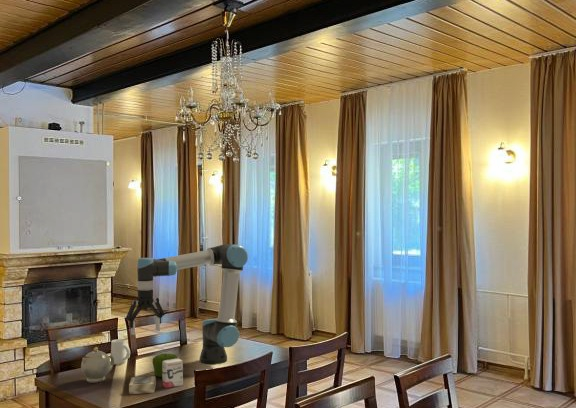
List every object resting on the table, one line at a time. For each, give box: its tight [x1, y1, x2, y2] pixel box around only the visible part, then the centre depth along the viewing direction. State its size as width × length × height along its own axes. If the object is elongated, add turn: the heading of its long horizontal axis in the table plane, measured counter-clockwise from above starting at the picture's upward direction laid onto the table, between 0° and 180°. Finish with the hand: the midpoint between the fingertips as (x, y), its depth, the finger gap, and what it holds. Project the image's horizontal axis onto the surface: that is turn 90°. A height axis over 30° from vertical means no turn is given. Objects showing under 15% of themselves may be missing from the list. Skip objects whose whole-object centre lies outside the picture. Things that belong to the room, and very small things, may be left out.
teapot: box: [80, 346, 115, 384], centre depth 281 cm, size 18×14×16 cm
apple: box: [152, 353, 178, 378], centre depth 287 cm, size 12×12×11 cm
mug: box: [110, 338, 131, 365], centre depth 315 cm, size 8×12×12 cm
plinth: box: [128, 375, 157, 395], centre depth 265 cm, size 11×13×4 cm
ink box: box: [162, 357, 184, 389], centre depth 271 cm, size 8×5×12 cm, turn 123°
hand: (145, 332), depth 282 cm, fingers open, 13 cm apart
